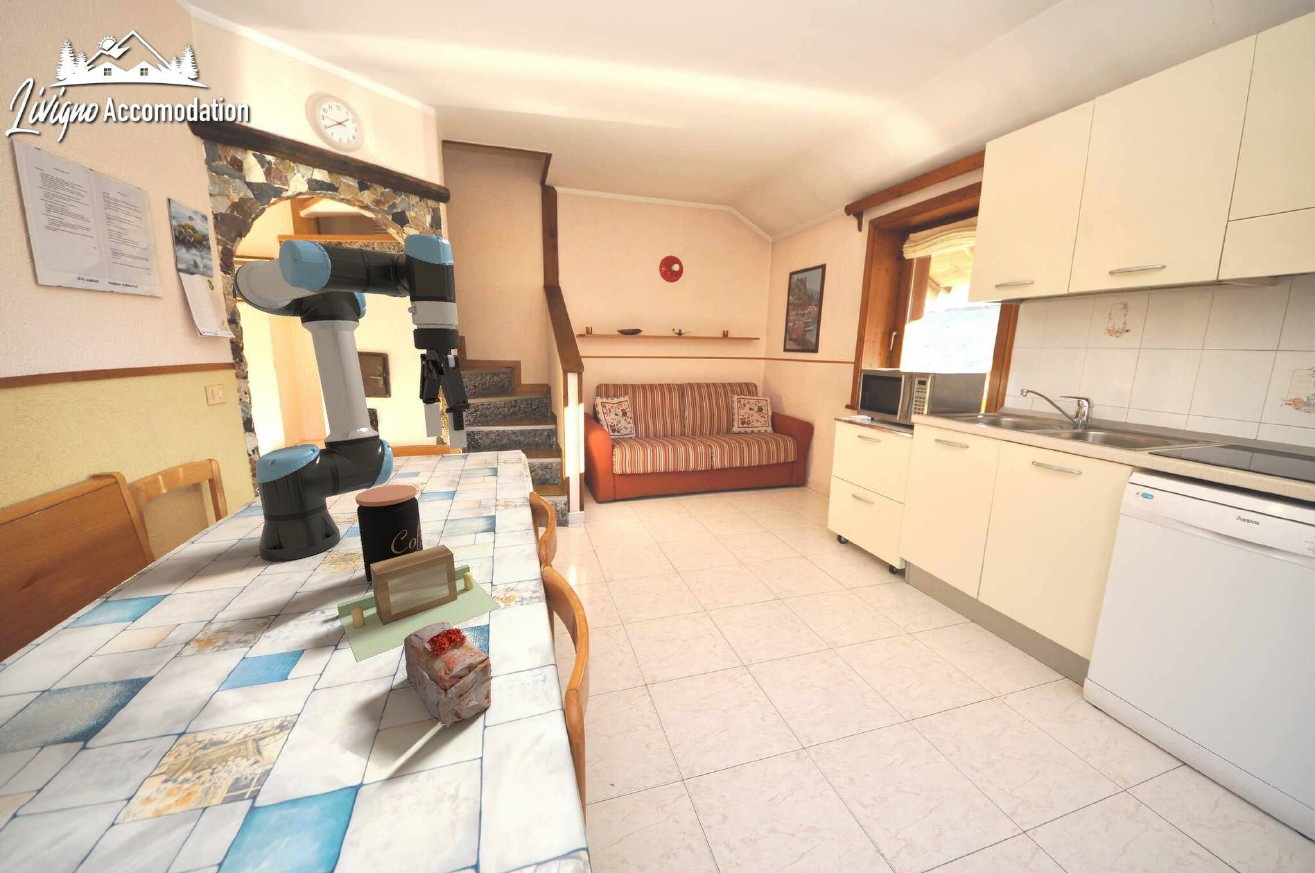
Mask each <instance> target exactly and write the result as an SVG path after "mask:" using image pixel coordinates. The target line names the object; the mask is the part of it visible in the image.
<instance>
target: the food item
mask: <svg viewBox="0 0 1315 873" xmlns="http://www.w3.org/2000/svg"><path fill="white" fill-rule="evenodd" d="M467 637H468V635H467V634H463V631H462V630H461V628H460V627H459V628H457V627H454V626H451V625H450V623H449V622H438V623H434V624H430V625H427V626H425V627H423V628H422V629H420V630H417V631H415V632H413V633H411V634H410V635H408V636H407V637H406V638H405V639H404V644H403V645H404V657H405V658H404V659H405V671H406V675H407V677H406V679H407V680H409V681H408V682H409V684H411V686H412V687H413V688H414V690H415V691H416V692H417V693H418V694H419V695H420V698H421V699H422V702H423V703H424V705H425V707H426V708H427V709H428V711H429V712H430V713H431V715H432V716H434V717H435V718H437V719H438V720H439V722H440V723H441V725H444V726H445V727H446V729H447V730H448V729H449V728H451V727H452V726H453V725H455V724H457V723H459V722H461V721H465V719H470V718H471V717H473V716H474V715H476V714H478V713H480V712H482V711H484V710H486V709H488V708H490V707H491V706H492V705H491V703H492V697H491V696H492V681H493V679H494V678H493V676H492V672H493V671H492V663H491V659H490V656H489V655H486V654H485V652H483V650H481V649H480V648H479V646H477V645H476V644H474V643H473V642H472V641H470V640H469V639H468V638H467Z"/></svg>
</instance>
